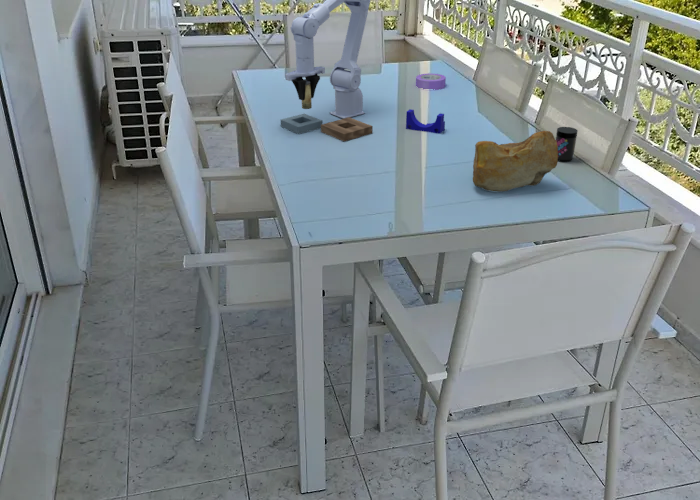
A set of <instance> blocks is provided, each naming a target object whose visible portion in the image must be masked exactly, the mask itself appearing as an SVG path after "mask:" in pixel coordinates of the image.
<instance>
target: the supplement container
mask: <svg viewBox="0 0 700 500" xmlns="http://www.w3.org/2000/svg"><path fill="white" fill-rule="evenodd" d="M578 131H579V130H578V129H577V128H574V127H572V126H571V127H570V126H559V127H557V128H556V134H555V140H556V142H557V146H558V159H557V160H558V162H560V163H567V162H572V161H573V159H574V154H575V148H576V142H577V137H578Z"/></svg>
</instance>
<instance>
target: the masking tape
mask: <svg viewBox="0 0 700 500" xmlns="http://www.w3.org/2000/svg"><path fill="white" fill-rule="evenodd" d="M446 79H447V78H446V76H445V75H444V74H439V73H432V72H431V73H429V72H427V73H421V74H417V75H416V77H415V87H416V86H417V87H418V88H417V87H416V88H417V89H419V88H423V89H422V90H424V89H433V90H432V91H438V90H439V89H440V90H443V89H445V88H446ZM434 89H435V90H434Z"/></svg>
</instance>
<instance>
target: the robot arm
mask: <svg viewBox="0 0 700 500" xmlns="http://www.w3.org/2000/svg"><path fill="white" fill-rule="evenodd" d="M343 3H344V4H345V6H346V8H348V9H349V11H350V16H349V17H350V18H349V22H348V27H347V31H346V35H345V40H344V45H343V49H342V54H341V59H339V60H338V61H337V62H335V63H334V65H333V68H332V70H331V72H330V75H329V83H330V85H331V86H333V89H334V104H335V105H334V107H335V109H334V111H330V112H329V114H330V115H333V116H335V117H337V118H341V119H344V118H348V117H350V118H353V117H357V116H360V115H364V114H365V112H364V111H363V110H364V109H363V106H364V105H363V104H364V102H363V100H364V98H363V97H364V96H363V92H362V89H360V88H359V87H360V86H361V81H362V79H361V78H362V77H361V75H362V74H361V73H362V69H361V68H360V66H359V64H358V63H357V62H358V57H359V54H360V48H361V45H362V40H363V35H364V31H365V27H366V23H367V19H368V14H369V13H368V12H369V8H370V4H371V0H325V1H323V3H321V2H318V3H314V4H313V5H312V8H310V9H309V10H308V11H307V12H304V13H303V15H302V16H297V17H296V18H295V19H293V20H292V23H291V26H290V32H291V34H292V35H293V40H294V43H295V66H296V67H295V70H292V71H290V72H288V73H285V80H286V81H288V82H290V81H291V82H292V85H293V86H294V88H295V90H296V94H297V97H298V100H300V101H302V100H304V99H305V85H306V80H303V79H309V80H311V99H314V97H315V93H316V88H317V86H318V83H319V81H320V80H321V76H320V75H319V74H326V67H325V66H315V52H314V51H315V49H314V48H315V47H314V46H315V45H314V37H315V36H316V34H318V33H317V32H318V30H319V29H320V26H322V25H323V24H324V23H325V22H326V21H327V20H329V18H330V14H331V12H332V11H334V10H336V9H337V8H338V7H339V6H341V5H342V4H343Z"/></svg>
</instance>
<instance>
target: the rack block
mask: <svg viewBox="0 0 700 500" xmlns="http://www.w3.org/2000/svg"><path fill="white" fill-rule="evenodd" d="M279 121H280V128H283V129H285V130H288V131H289V132H292V133H294V134H296V135H301V134H304V133H305V134H306V133H310V132H313V131H315V130H319V129H320V130H321V125H322V124H323V120H322V119H320V118H319V119H318V118H317V117H314V116H312V115H309V114H307V113H301V114H297V115H293V116H290V117H285V118H282V119H280V120H279Z"/></svg>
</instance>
